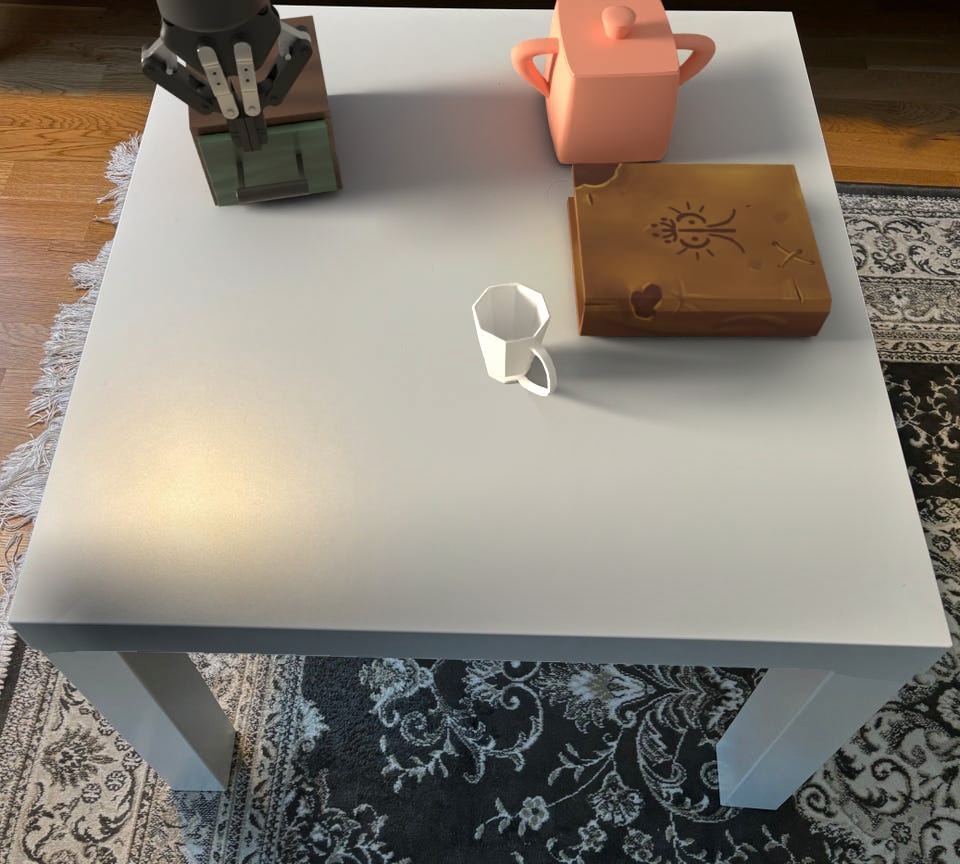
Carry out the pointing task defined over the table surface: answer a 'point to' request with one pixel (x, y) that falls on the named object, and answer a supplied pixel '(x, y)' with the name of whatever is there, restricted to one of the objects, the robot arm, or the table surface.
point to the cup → (514, 334)
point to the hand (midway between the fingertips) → (252, 145)
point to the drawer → (270, 164)
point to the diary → (694, 251)
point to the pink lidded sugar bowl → (611, 78)
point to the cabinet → (297, 105)
